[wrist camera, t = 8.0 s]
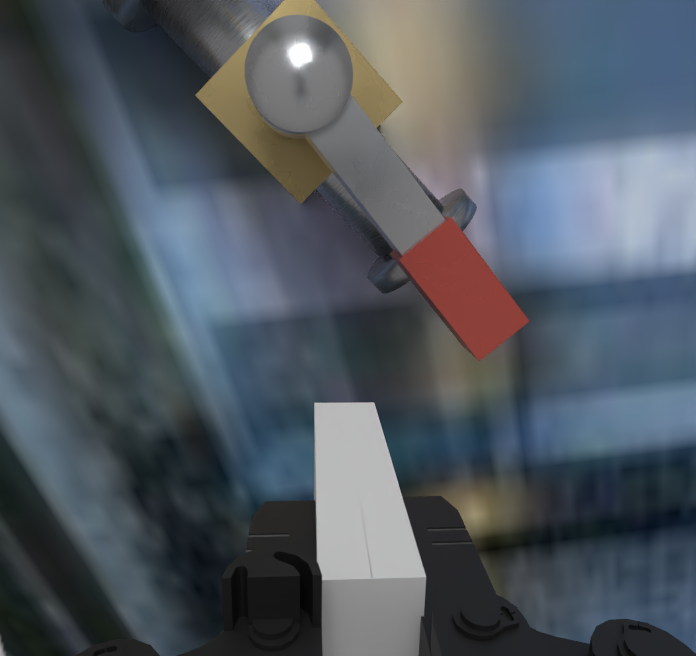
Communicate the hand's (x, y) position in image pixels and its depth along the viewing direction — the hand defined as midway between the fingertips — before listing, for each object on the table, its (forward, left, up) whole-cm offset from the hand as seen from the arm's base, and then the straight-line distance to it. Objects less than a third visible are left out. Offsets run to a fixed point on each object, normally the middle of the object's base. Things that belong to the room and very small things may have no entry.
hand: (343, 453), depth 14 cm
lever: (-6, -3, -10) cm, 12 cm away
